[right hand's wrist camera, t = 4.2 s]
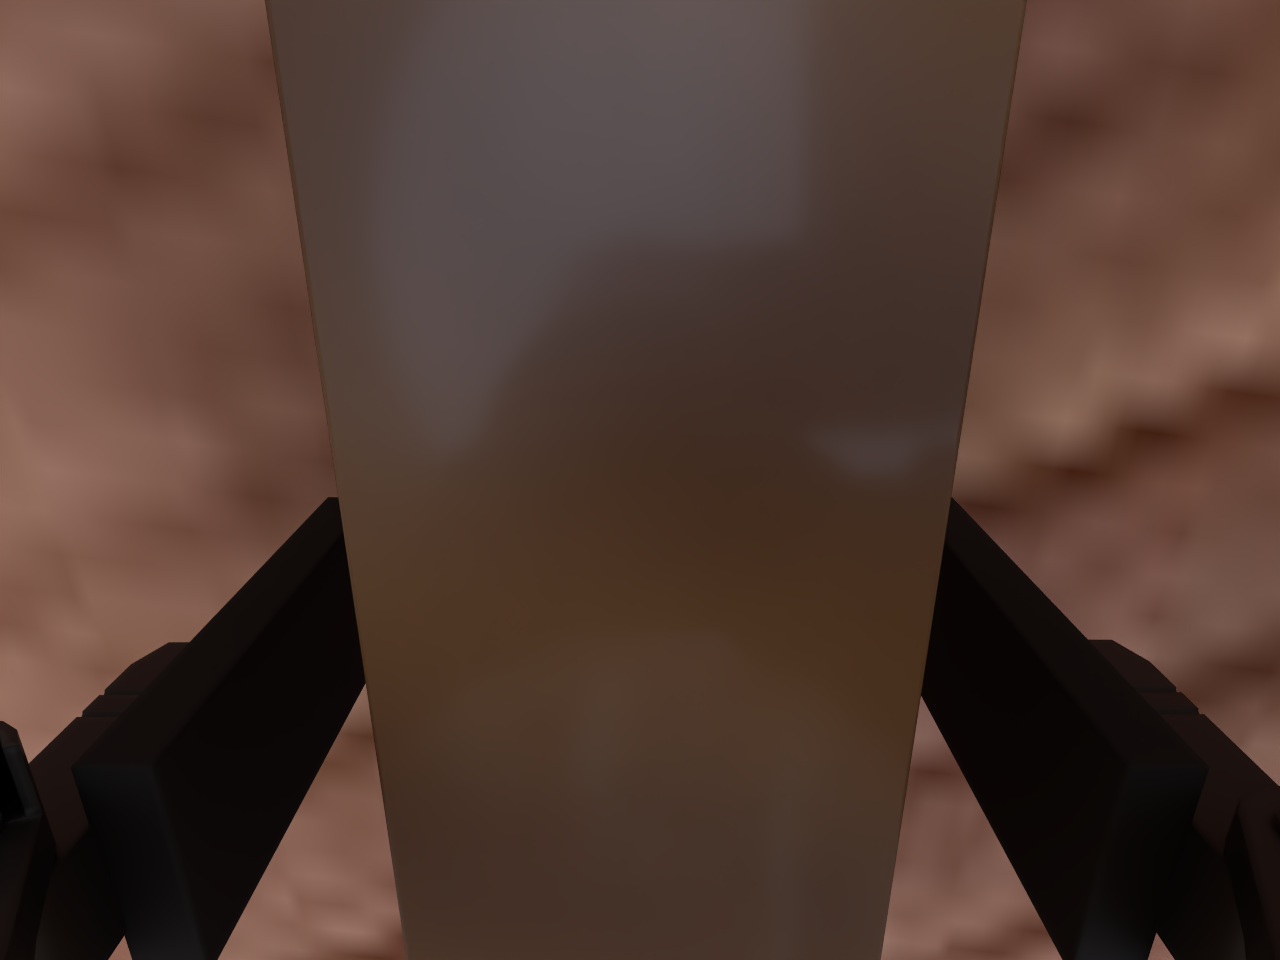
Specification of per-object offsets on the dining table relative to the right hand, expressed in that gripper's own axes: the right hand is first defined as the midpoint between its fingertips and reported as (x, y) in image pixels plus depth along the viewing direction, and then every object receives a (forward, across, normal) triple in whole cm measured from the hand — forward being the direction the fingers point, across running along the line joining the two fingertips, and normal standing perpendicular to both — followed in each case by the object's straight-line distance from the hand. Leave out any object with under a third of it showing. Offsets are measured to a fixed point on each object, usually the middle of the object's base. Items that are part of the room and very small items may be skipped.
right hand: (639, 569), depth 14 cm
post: (+1, 0, -27) cm, 27 cm away
